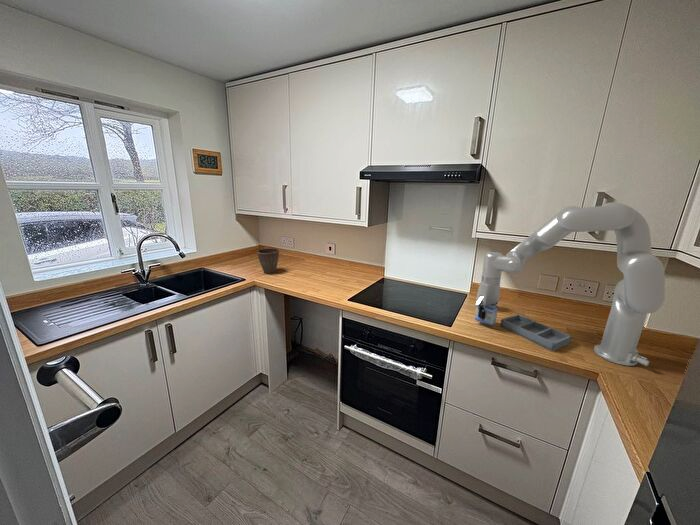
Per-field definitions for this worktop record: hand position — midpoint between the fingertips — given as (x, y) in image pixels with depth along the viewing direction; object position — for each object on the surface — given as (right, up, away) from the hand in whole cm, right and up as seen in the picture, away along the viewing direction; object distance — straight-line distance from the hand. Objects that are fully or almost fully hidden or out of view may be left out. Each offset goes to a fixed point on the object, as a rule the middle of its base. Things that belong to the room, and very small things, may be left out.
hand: (485, 316), depth 131 cm
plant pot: (-121, +18, +73) cm, 142 cm away
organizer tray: (+18, -7, -7) cm, 20 cm away
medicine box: (0, -3, +1) cm, 3 cm away
